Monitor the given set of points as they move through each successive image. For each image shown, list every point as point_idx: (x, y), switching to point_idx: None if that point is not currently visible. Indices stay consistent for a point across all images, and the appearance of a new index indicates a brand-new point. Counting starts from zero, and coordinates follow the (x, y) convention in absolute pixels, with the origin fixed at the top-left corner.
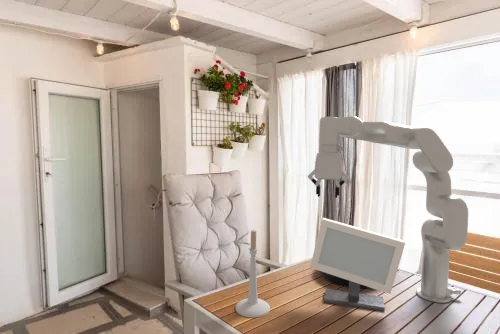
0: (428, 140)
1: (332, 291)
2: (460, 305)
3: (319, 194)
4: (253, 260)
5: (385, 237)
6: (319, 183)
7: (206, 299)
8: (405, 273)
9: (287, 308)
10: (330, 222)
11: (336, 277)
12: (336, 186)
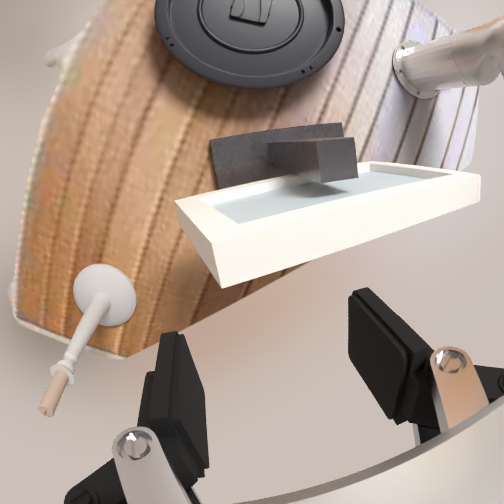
0: None
1: (229, 147)
2: (448, 97)
3: (204, 405)
4: (76, 362)
5: (450, 211)
6: (170, 463)
7: (28, 305)
8: None
9: (159, 262)
10: (267, 271)
11: (226, 86)
12: (409, 415)
